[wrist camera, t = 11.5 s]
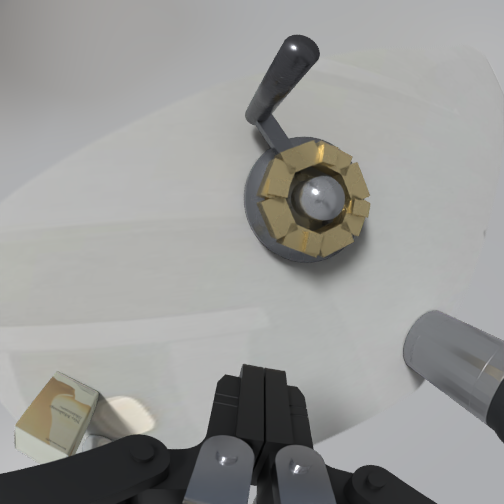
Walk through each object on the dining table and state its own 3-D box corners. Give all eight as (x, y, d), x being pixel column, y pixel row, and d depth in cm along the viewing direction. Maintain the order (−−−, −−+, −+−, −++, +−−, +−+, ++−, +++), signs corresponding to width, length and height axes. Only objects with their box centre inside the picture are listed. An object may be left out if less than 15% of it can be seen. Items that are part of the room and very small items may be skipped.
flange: (359, 148, 33) (385, 140, 27) (353, 261, 34) (379, 270, 29) (247, 133, 30) (257, 119, 25) (240, 258, 32) (249, 269, 27)
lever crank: (369, 226, 32) (464, 239, 18) (284, 268, 31) (349, 314, 17) (311, 87, 29) (380, 24, 15) (218, 118, 28) (236, 48, 14)
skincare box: (100, 391, 31) (71, 457, 19) (94, 414, 31) (68, 479, 20) (54, 368, 30) (12, 425, 18) (50, 393, 30) (13, 450, 18)
